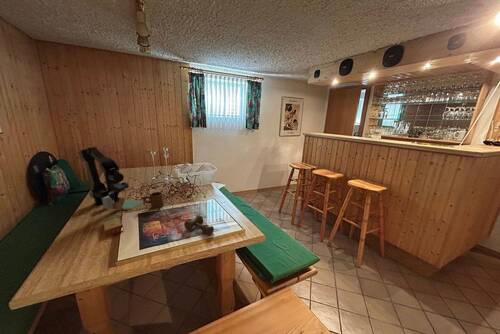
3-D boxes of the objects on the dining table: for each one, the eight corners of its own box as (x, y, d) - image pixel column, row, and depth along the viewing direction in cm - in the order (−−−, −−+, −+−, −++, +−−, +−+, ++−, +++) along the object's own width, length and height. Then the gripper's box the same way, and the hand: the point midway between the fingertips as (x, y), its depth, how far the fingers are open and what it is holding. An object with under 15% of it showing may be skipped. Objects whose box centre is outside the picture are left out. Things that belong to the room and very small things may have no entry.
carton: (105, 237, 102) (104, 230, 101) (103, 224, 114) (102, 218, 113) (124, 231, 107) (122, 224, 106) (120, 219, 119) (119, 213, 118)
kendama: (204, 240, 99) (180, 227, 110) (217, 232, 107) (193, 220, 118) (204, 230, 98) (179, 217, 108) (217, 222, 105) (193, 211, 116)
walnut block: (111, 208, 127) (115, 196, 129) (116, 209, 130) (120, 197, 133) (115, 209, 126) (120, 197, 128) (121, 210, 129) (125, 198, 132)
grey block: (104, 208, 132) (101, 197, 130) (109, 205, 136) (107, 195, 134) (108, 209, 131) (106, 198, 129) (113, 206, 135) (111, 196, 133)
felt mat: (115, 206, 135) (114, 206, 134) (129, 199, 146) (129, 199, 146) (130, 209, 131) (130, 208, 131) (144, 201, 142) (144, 201, 142)
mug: (145, 211, 127) (143, 198, 125) (143, 207, 134) (141, 194, 131) (164, 207, 134) (162, 194, 131) (162, 203, 140) (160, 191, 137)
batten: (113, 208, 132) (112, 206, 132) (114, 207, 133) (114, 206, 133) (126, 210, 129) (126, 209, 129) (128, 209, 130) (127, 208, 130)
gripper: (106, 185, 112) (111, 210, 116) (133, 176, 129) (136, 197, 134) (92, 184, 115) (97, 207, 119) (120, 174, 132) (124, 195, 137)
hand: (115, 201), depth 127 cm, fingers closed
